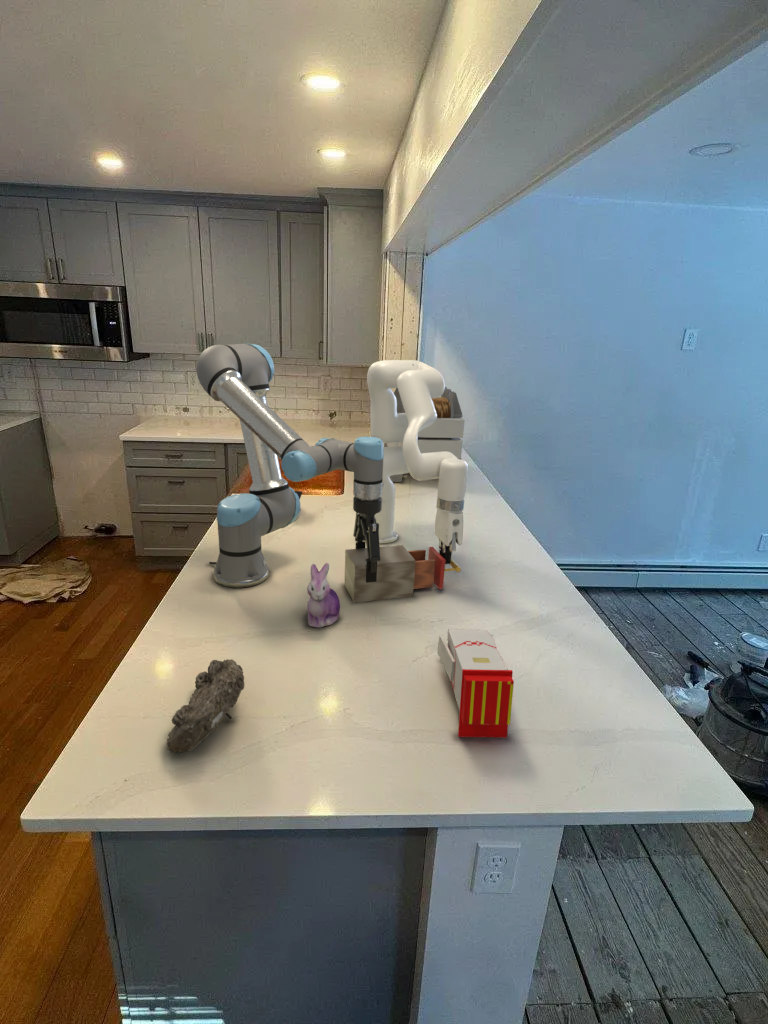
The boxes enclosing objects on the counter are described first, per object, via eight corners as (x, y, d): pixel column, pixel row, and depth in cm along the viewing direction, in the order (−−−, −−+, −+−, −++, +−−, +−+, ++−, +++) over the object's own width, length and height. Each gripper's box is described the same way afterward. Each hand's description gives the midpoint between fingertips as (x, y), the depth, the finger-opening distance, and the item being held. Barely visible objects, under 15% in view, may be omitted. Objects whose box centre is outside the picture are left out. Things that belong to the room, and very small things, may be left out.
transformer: (382, 463, 289) (386, 382, 275) (445, 464, 293) (451, 384, 279) (390, 482, 257) (394, 392, 243) (460, 483, 261) (468, 394, 247)
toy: (488, 613, 130) (523, 677, 101) (484, 667, 133) (517, 744, 104) (435, 612, 130) (455, 676, 101) (432, 666, 133) (451, 743, 103)
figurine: (312, 633, 137) (312, 577, 132) (298, 613, 145) (298, 559, 140) (348, 624, 141) (349, 570, 136) (332, 606, 150) (333, 554, 144)
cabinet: (400, 579, 167) (402, 544, 163) (412, 596, 157) (415, 560, 153) (344, 584, 162) (345, 549, 158) (353, 602, 152) (354, 565, 148)
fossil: (192, 660, 117) (244, 628, 112) (224, 691, 120) (276, 661, 115) (142, 746, 98) (202, 712, 93) (182, 779, 101) (242, 748, 96)
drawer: (447, 572, 170) (449, 545, 167) (460, 586, 162) (463, 558, 158) (380, 579, 164) (381, 550, 161) (390, 594, 155) (392, 564, 152)
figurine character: (298, 524, 207) (303, 507, 221) (298, 506, 204) (302, 489, 217) (280, 524, 207) (285, 506, 220) (279, 505, 204) (285, 488, 217)
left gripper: (395, 510, 139) (391, 590, 147) (369, 482, 160) (367, 554, 168) (365, 512, 137) (363, 593, 145) (343, 484, 158) (342, 556, 165)
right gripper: (474, 512, 151) (467, 573, 158) (451, 493, 164) (446, 551, 171) (448, 513, 149) (442, 576, 156) (427, 495, 162) (422, 553, 169)
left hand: (365, 572), depth 156 cm, fingers closed on cabinet, 11 cm apart
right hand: (444, 563), depth 163 cm, fingers closed
